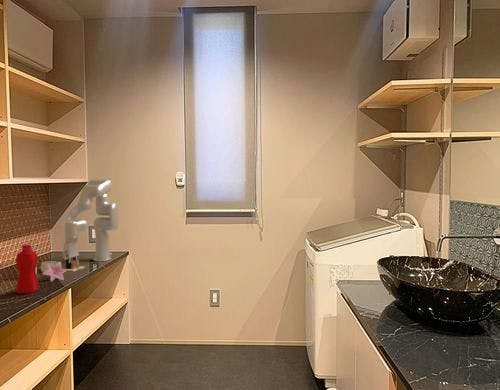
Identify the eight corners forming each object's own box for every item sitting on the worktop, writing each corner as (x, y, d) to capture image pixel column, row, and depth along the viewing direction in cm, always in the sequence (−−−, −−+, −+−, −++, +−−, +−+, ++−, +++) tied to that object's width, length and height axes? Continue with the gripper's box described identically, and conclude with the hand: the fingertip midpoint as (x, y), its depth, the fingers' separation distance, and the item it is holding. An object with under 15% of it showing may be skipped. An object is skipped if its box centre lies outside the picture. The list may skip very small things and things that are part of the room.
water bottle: (42, 288, 217) (41, 242, 216) (32, 294, 206) (31, 246, 205) (25, 288, 217) (24, 243, 216) (13, 294, 206) (12, 246, 205)
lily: (39, 283, 232) (42, 270, 229) (46, 271, 243) (49, 258, 239) (60, 288, 235) (64, 275, 232) (67, 276, 246) (70, 264, 242)
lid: (69, 266, 268) (69, 258, 268) (85, 267, 265) (85, 259, 265) (57, 270, 256) (57, 262, 256) (73, 271, 253) (73, 263, 253)
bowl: (48, 269, 262) (48, 260, 262) (60, 270, 260) (60, 261, 260) (38, 273, 253) (38, 263, 253) (50, 273, 251) (50, 264, 251)
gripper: (74, 238, 269) (75, 264, 270) (57, 241, 252) (57, 270, 253) (84, 238, 267) (84, 265, 268) (67, 242, 251) (67, 270, 251)
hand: (71, 267), depth 261 cm, fingers closed on lid, 5 cm apart
